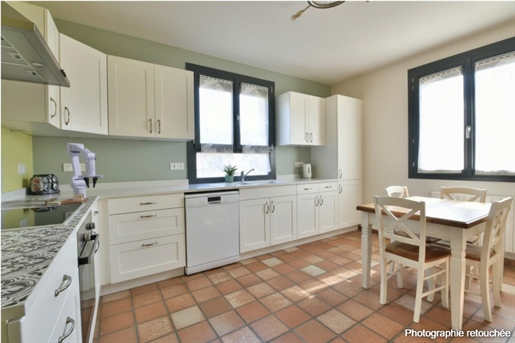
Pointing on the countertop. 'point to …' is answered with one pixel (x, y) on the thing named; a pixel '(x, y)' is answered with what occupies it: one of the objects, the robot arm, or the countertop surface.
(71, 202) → the trap deck
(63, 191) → the countertop surface
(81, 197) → the maple block
